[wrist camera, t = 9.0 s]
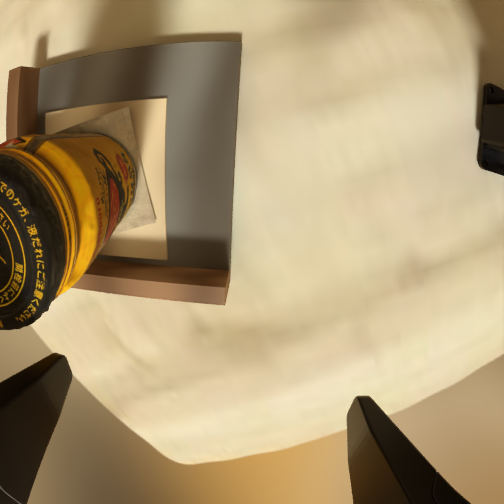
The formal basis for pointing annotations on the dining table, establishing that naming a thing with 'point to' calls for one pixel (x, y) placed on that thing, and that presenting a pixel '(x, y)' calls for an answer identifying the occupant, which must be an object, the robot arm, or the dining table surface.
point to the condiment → (64, 209)
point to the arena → (153, 157)
